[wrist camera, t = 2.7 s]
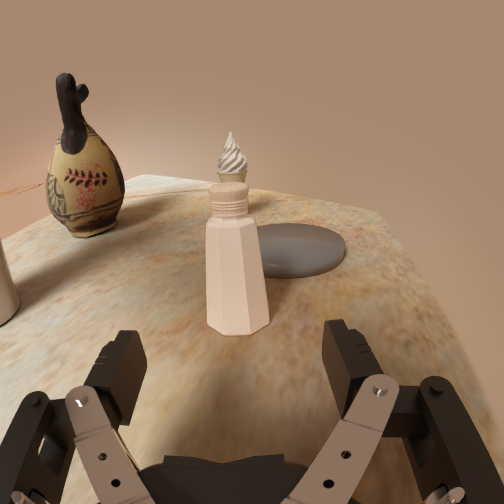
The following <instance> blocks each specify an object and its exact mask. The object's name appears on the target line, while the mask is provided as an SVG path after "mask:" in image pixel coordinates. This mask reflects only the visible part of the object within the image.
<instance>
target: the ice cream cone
mask: <svg viewBox="0 0 504 504" xmlns="http://www.w3.org/2000/svg"><path fill="white" fill-rule="evenodd" d="M218 162H219V163H218V168H219V172H218V174H219V177H220V180H221V183H224V182H242V183H244V182H245V177H246V173H247V170H246V169H247V162H246V158H245V156H244V155H242V154H241V153H240V150H239V146H238V144H237V143H236V141H235V139H234V137H233V135H232V133H231V131H230V133H229V136H228V139H227V142H226V144H225V146H224V152H223V155H222V156H221V157H220V158H219V161H218Z"/></svg>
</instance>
